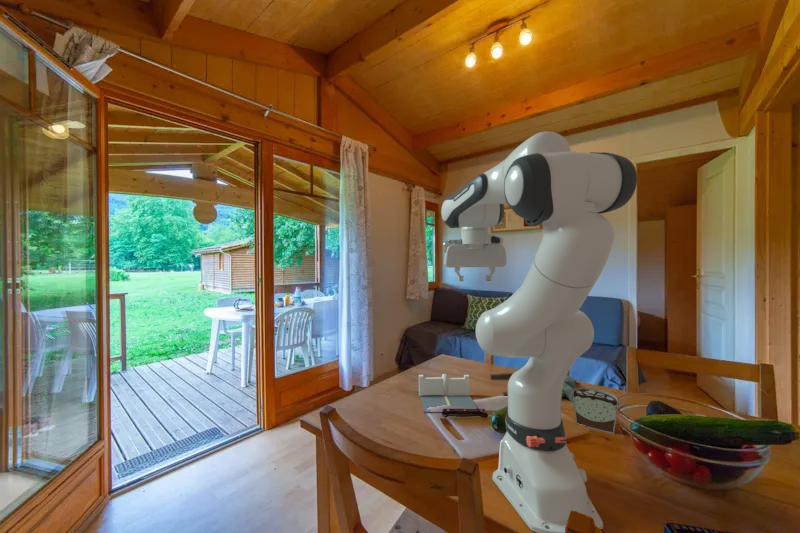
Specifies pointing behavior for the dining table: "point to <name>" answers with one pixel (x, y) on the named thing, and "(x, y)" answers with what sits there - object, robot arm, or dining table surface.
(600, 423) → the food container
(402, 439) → the dining table surface
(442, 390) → the fence panel
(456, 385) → the fence fixed section
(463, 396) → the card
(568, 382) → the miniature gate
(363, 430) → the dining table surface
